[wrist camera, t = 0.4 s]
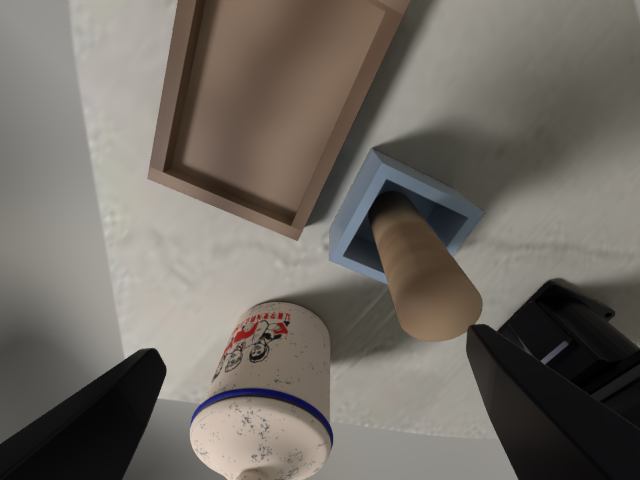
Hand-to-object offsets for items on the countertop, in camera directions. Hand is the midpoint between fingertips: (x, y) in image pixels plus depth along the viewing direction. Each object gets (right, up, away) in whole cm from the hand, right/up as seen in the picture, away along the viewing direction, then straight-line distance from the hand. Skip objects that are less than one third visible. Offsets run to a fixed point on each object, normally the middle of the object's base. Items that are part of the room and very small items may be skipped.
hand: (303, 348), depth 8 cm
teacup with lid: (-4, -6, +18) cm, 20 cm away
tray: (-3, +12, +9) cm, 15 cm away
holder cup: (+5, +5, +12) cm, 14 cm away
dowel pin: (+5, +5, +11) cm, 13 cm away
